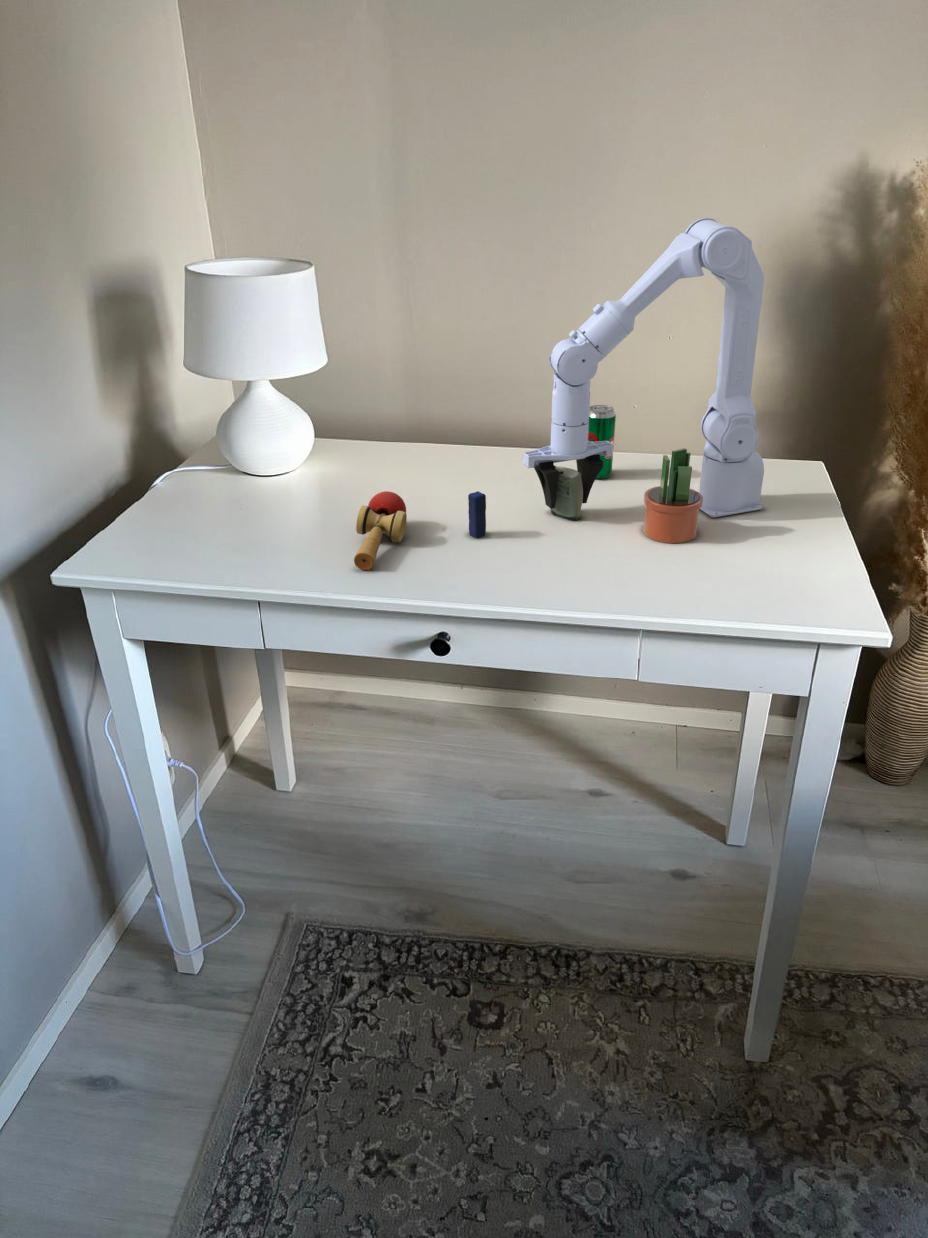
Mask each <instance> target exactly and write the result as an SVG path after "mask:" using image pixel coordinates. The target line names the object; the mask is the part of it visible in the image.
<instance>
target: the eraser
mask: <svg viewBox="0 0 928 1238" xmlns="http://www.w3.org/2000/svg"><path fill="white" fill-rule="evenodd" d="M467 500H468V503H467V504H468V505H467V506H468V534H469V536H471V537H472V538H474V539H479V538H483V537H484V536H486V534H487V533H486V531H487V519H486V518H487V513H486V511H487V495H486V494H485V493H483V492H481V491H474V492H470V493H469V494H468V495H467Z"/></svg>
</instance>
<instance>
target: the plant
mask: <svg viewBox="0 0 928 1238" xmlns="http://www.w3.org/2000/svg"><path fill="white" fill-rule="evenodd" d="M662 456H663V457H662V464H661V475H660V485H659V486H653V487H650V488H649V489H646V490H645V492H644V493H643V503H644V505H645V508H644V519H643V520H644V521H643V530H642V531H643V533H644V535H645V536H646V537H648V538H649V539H651V540H653V541H656V542H660V543H666V544H682V543H688V542H691V541H692V540H694V539H695V538H696V536H697V532H698V524H699V523H698V522H699V514H700V508H701V507H702V505H703V496H702V495H701V494H700V493H699V491H698V490H695V489H693V488H691V482H692V474H693V473H692V472H693V466H692V465H690V461H691V452H689V451H688V449H687V448H685V447H684V448H678V449H674V450H672V451H671V457H670V458H669V456H668V455H667V454H663V455H662Z"/></svg>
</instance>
